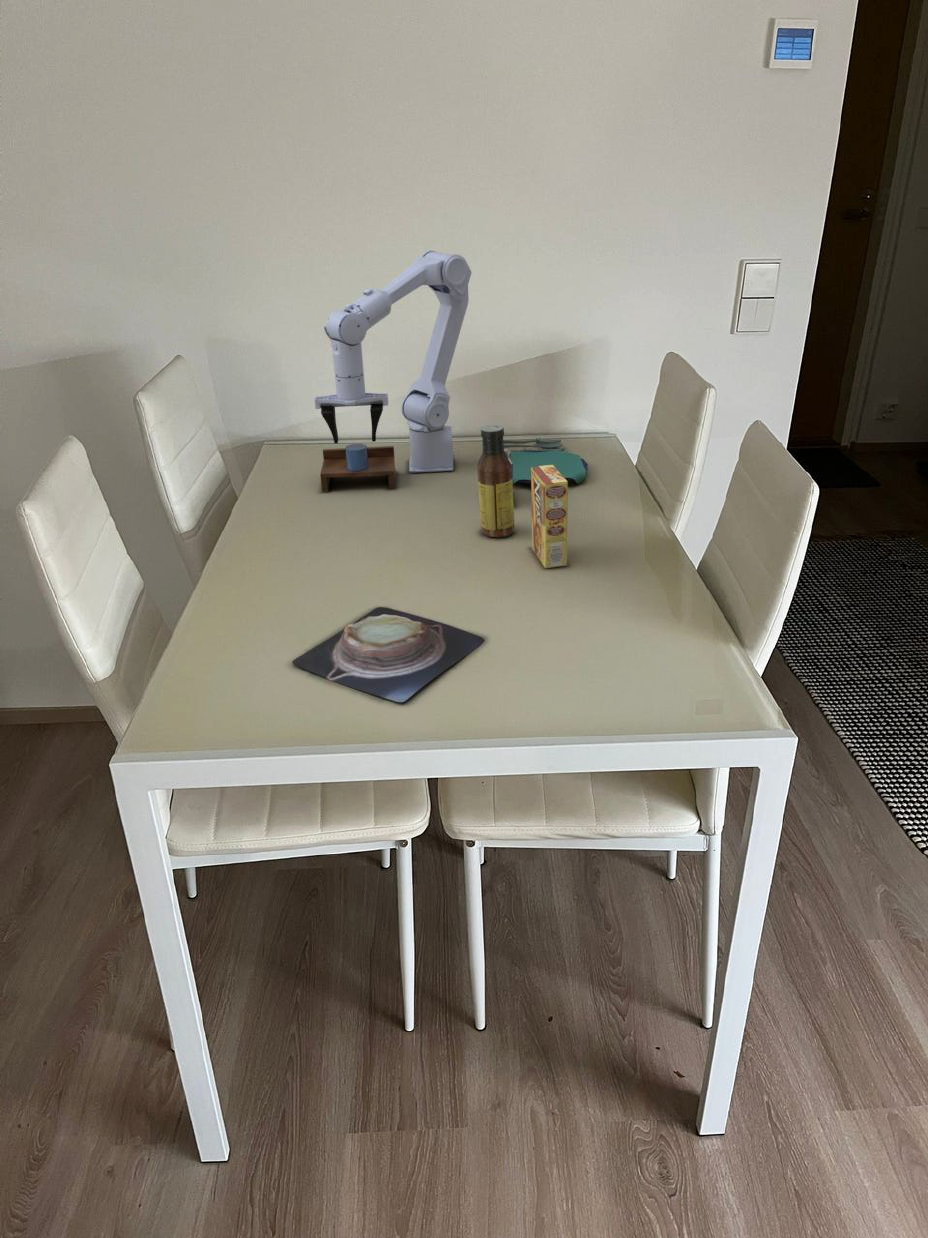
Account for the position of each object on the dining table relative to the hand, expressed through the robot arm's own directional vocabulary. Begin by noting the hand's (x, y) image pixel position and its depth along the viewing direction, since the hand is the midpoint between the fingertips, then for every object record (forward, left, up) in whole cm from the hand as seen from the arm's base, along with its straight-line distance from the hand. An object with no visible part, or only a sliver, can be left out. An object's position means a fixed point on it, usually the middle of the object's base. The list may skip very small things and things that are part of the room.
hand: (355, 440), depth 196 cm
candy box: (-35, +40, -10) cm, 54 cm away
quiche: (-7, +70, -10) cm, 71 cm away
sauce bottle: (-26, +28, -10) cm, 40 cm away
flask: (-29, +12, -10) cm, 33 cm away
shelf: (0, -2, -10) cm, 10 cm away
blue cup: (0, 0, -6) cm, 6 cm away
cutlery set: (-38, -7, -10) cm, 40 cm away
